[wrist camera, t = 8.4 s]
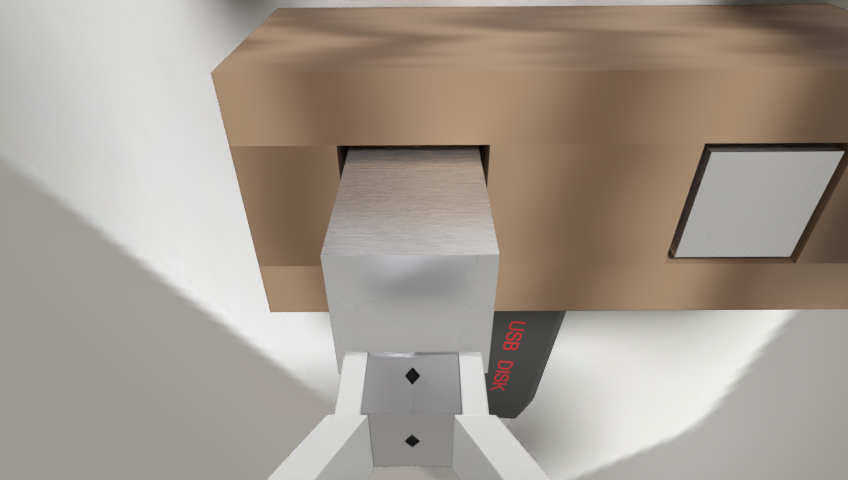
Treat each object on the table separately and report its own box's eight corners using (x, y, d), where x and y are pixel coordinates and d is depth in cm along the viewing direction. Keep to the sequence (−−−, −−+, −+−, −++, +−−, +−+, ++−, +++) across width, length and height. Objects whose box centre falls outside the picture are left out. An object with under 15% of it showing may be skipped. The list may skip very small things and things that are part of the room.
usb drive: (563, 271, 29) (575, 304, 27) (517, 403, 36) (524, 438, 34) (472, 263, 29) (476, 296, 27) (444, 398, 36) (445, 433, 34)
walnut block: (308, 200, 26) (270, 312, 19) (277, 8, 21) (211, 72, 14) (747, 198, 26) (856, 309, 19) (829, 4, 21) (1017, 67, 14)
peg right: (614, 163, 24) (674, 256, 18) (634, 76, 21) (711, 152, 16) (701, 163, 24) (790, 256, 18) (731, 75, 21) (844, 151, 16)
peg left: (363, 226, 20) (338, 373, 14) (354, 127, 17) (320, 255, 11) (469, 226, 20) (487, 372, 14) (474, 127, 17) (499, 254, 11)
